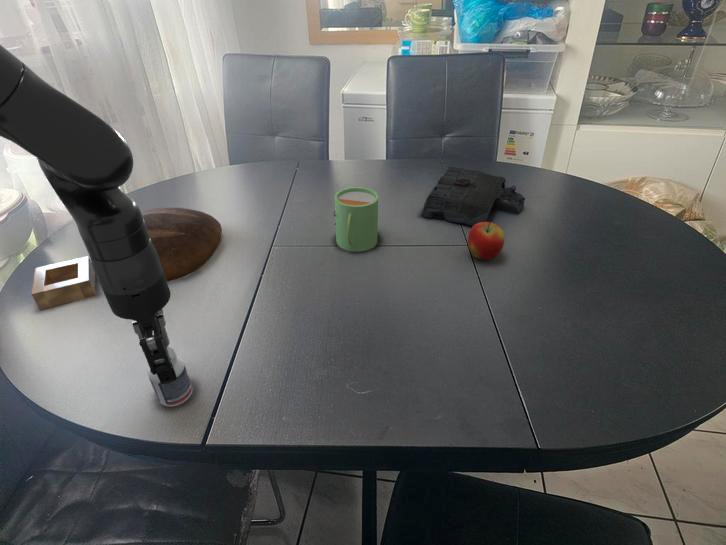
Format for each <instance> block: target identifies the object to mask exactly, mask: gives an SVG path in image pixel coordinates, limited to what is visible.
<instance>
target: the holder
mask: <svg viewBox="0 0 726 545" xmlns="http://www.w3.org/2000/svg"><path fill="white" fill-rule="evenodd" d="M33 276H34V277H33V282H32V289H31V297H32V298H33V300H34V302H35V304H36V305H37V308H38V309H39V310H45V309H49V308H53V307H57V306H61V305H64V304H68V303H72V302H76V301H80V300H83V299H84V300H85V299H88V298H92V297H96V294H97V293H96V275H95V272H94V270H93V266H92V262H91V258H90V256H89V255H86V256H83V257H78V258H73V259H70V260H64V261H60V262H56V263H51V264H47V265H42V266H39V267H35V268H34V275H33Z"/></svg>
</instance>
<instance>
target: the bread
mask: <svg viewBox="0 0 726 545" xmlns="http://www.w3.org/2000/svg"><path fill="white" fill-rule="evenodd" d="M140 211H141V210H140ZM141 214H142V216H143V219H144V222H145V225H146V228H147V231H148V234H149V236H150V239H151V242H152V244H153V246H154V247H155V249H156V251H157V254H158V256H159V259H160V262H161V265H162V268H163V271H164V274H165V277H166V280H167V283H168V282H173V281H176V280H179V279H182V278H185V277H187V276H189V275H191V274H193V273H195V272H196V271H198V270H199V269H200V268H201V267H203V266H204V265H205V264H207V262H208V261H209V260H210V259H211V258H212V257H213V256H214V254H215V253H216V252H217V250H218V248H219V246H220V244H221V241H222V236H223V228H222V225H221V223H220V222H219V221H218V219H216V218H215V217H214V216H212V215H211V214H208V213H206V212H204V211H200V210H196V209H191V208H185V207H158V208H157V207H156V208H151V209H146V210H142V211H141Z"/></svg>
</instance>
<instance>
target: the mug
mask: <svg viewBox="0 0 726 545" xmlns="http://www.w3.org/2000/svg"><path fill="white" fill-rule="evenodd" d="M333 217H335V223H334V226H335V236H336V237H335V238H336V244H337V246H338V247H339V248H340V249H342V250H344V251H347V252H351V253H352V252H353V253H360V252H366V251H369V250H371V249H373V248H375V247H376V246H377V244H378V232H379V230H378V228H379V195H378V193H377V192H376V191H375V190H374V189H371V188H367V187H362V186H351V187H345V188H342V189H340V190H339V191H337V192H336V193H335V194H334V211H333Z"/></svg>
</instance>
